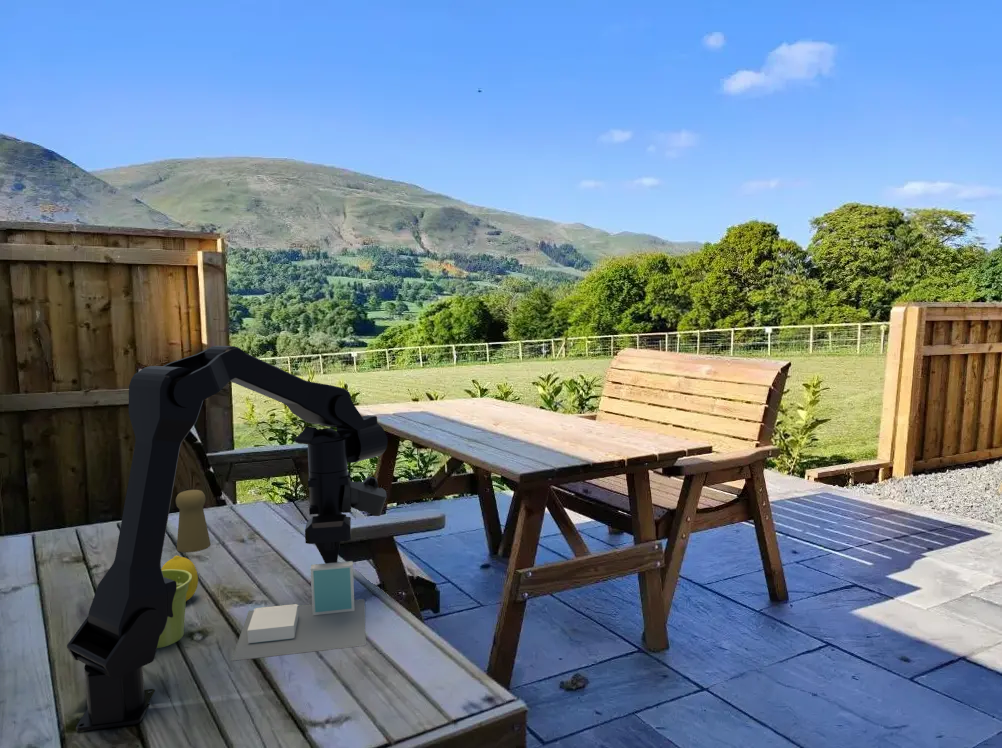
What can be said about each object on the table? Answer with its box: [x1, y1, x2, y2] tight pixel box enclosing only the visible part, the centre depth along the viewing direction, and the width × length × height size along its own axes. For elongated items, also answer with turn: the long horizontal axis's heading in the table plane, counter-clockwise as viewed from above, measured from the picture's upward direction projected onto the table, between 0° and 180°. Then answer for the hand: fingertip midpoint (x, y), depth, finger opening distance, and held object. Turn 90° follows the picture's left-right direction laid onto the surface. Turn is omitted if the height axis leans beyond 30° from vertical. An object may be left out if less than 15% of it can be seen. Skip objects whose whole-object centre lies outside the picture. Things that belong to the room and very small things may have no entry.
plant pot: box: [157, 569, 192, 649], centre depth 96 cm, size 9×9×9 cm
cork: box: [175, 489, 211, 553], centre depth 134 cm, size 6×6×11 cm
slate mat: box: [230, 598, 367, 662], centre depth 99 cm, size 15×17×1 cm
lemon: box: [161, 555, 199, 602], centre depth 107 cm, size 6×6×8 cm
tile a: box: [247, 603, 299, 643], centre depth 98 cm, size 2×6×7 cm
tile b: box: [310, 560, 355, 615], centre depth 103 cm, size 2×6×7 cm, turn 102°
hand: (332, 569), depth 107 cm, fingers closed
